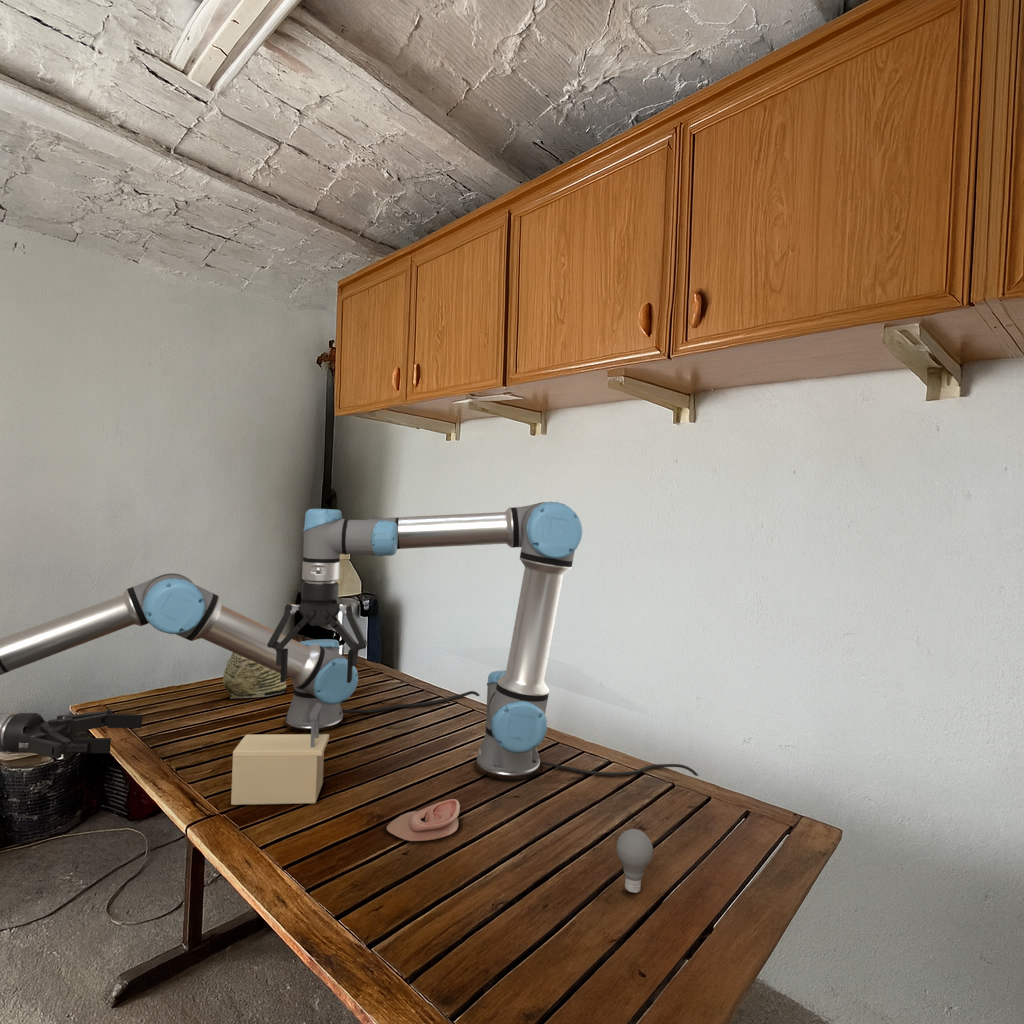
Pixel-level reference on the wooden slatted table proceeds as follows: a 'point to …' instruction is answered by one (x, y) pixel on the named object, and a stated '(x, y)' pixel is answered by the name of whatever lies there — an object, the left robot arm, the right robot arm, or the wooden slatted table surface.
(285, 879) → the wooden slatted table surface
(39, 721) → the left robot arm
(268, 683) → the fossil
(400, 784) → the wooden slatted table surface
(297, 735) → the lid
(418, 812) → the anatomical model
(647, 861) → the light bulb
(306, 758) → the chest
